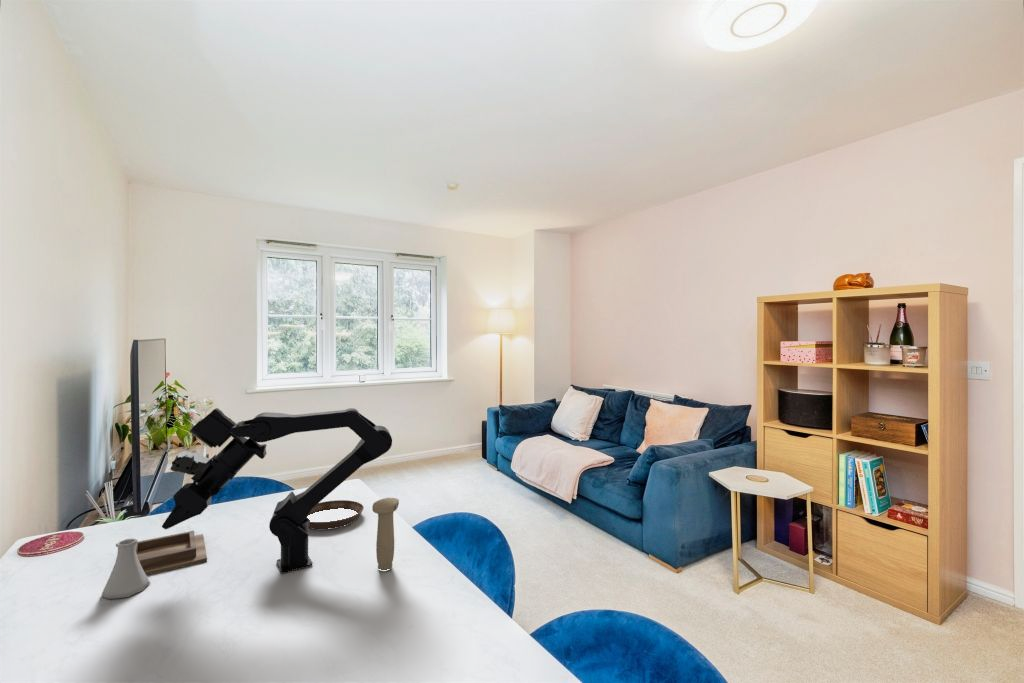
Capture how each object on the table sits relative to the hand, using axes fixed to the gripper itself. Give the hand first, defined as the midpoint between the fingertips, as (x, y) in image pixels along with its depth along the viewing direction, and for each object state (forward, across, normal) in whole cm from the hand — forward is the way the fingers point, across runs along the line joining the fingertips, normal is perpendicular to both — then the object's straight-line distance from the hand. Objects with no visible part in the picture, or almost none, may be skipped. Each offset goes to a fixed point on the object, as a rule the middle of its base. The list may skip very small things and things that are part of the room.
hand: (171, 519), depth 97 cm
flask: (+15, +1, +4) cm, 15 cm away
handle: (-19, +9, +41) cm, 46 cm away
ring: (-11, -25, +32) cm, 42 cm away
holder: (+13, -13, +5) cm, 19 cm away
